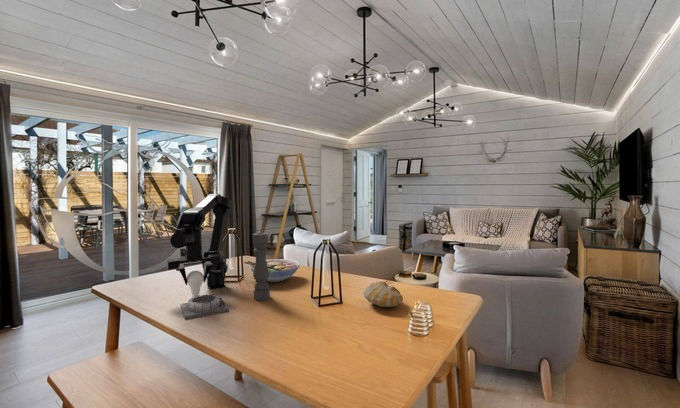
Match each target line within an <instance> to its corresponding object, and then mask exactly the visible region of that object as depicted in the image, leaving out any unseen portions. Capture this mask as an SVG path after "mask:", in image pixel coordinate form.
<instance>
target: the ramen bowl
mask: <svg viewBox="0 0 680 408" xmlns="http://www.w3.org/2000/svg"><path fill="white" fill-rule="evenodd" d="M266 262H267V266H268V270H269V277H268V279H267V283H268V282H269V283H280V281H281V282H283V281H284V280H286V279H289V278H291V277H292V276H293V275H294V274H295V273H297V271H298V270H299V267H300V266H301V262H300V261H298V260H295V259H290V258H289V259H287V258H286V259H285V258H273V259H266ZM255 263H256V261H255V262H253V261H250V260H248V261H244V262H243V264H244V265H245V264H247V265H249V269H250V271H251V272H252V273H254V268H255Z"/></svg>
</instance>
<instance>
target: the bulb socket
mask: <svg viewBox="0 0 680 408" xmlns="http://www.w3.org/2000/svg"><path fill="white" fill-rule="evenodd" d="M180 310H181V311H182V314H183V318H184V320H189V319H195V318H200V317H205V316H209V315H214V314H220V313H224V312H225V313H226V312H229V310H230V309H229V307H228V305H227V304H226V302H225V301H224V299H223V298H222V297H221V296H218V294H200V295H199V296H196V297H193V298H192V297H191V298H189V299H188V301H187V302H185V303H184V302H183V303H180Z"/></svg>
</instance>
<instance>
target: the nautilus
mask: <svg viewBox="0 0 680 408" xmlns="http://www.w3.org/2000/svg"><path fill="white" fill-rule="evenodd" d="M388 283H389V281H388V280H386V281H385V280H382V281H375V282H372V283H370V284H369V285H368V286H366V288H365V289H364V291H363V292H362V295H363V297H365V300H367V301H368V302H369V303H372V304H374V305H376V306H378V307H380V308H393V307H396V306H399V305H400V304H402V303H403V301H404V297H403V294H401V292H400V290H399V289H398V288H396V287H395V286H394V285H389V284H388ZM390 284H394V282H392V281H390Z"/></svg>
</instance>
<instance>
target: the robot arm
mask: <svg viewBox="0 0 680 408" xmlns="http://www.w3.org/2000/svg"><path fill="white" fill-rule="evenodd" d="M233 209H234V203H233V201H232V200H231V198H228V197H225V196H224V195H223V196H222V195H221V194H220V193H209V194H207V196H206V197H205V198H204V199H203V200H202V201H201V202H200V203H198V204H197V205H196V206H195V207H192V208H188V209H187V210H184V211H183V212H182V214H181V216H180V217H179V218H180V219H179V221H178V224H177V226H176V229H175V230H174V233H172V235H171V237H170V239H169V240H170V244H171V246H172V247H173V248H175V249H179V256H180V258H184V259H183V260H180V259H179V258H172V259H171V258H170V259H168V260H166V267H167V270H170V271H171V270H176V272H179V273H180V275H181V276H182V279H183V281H184V284H185V286H187V285H188V283H187V273H186V268H185V266H188V265H189V266H190V265H195V264H196V265H197V264H198V265H199V264H201V266H202V270H203V276H204V280H203V283H204V284H205V283H206V287H207V288H208V289H210V290H212V289H218V288H219V289H220V288H225V287H226V284H225V274H226V273H228V270H229V265H228V264H227V263H226V261H225V255H224V252H223V251H222V248H223V245H224V235H225V230H226V225H227V219H228V217H229V216H231V214H232V212H233ZM211 211H212V213H213V215H214V221H213V227H212V233H211V238H210V246H209V249H207V251H204V253H203V240H202V237H203V235H202V231H204V229H205V228H204V227H203V226H202V225H204V223H205V221H206V215H208V214H209V212H211Z"/></svg>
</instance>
